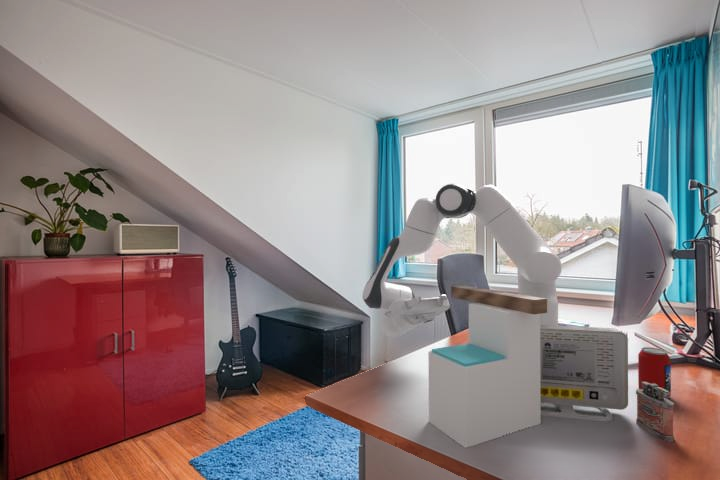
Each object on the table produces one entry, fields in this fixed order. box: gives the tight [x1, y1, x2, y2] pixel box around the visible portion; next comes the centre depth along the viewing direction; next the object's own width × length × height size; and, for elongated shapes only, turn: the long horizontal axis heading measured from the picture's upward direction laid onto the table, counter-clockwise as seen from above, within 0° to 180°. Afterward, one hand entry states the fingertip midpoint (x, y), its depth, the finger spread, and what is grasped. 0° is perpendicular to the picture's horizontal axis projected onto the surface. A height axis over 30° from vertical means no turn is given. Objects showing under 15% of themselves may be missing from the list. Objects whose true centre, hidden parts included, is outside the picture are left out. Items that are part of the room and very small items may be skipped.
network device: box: [540, 325, 629, 422], centre depth 90 cm, size 26×9×20 cm, turn 77°
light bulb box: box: [558, 318, 590, 327], centre depth 137 cm, size 11×7×11 cm, turn 40°
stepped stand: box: [428, 302, 542, 449], centre depth 84 cm, size 12×22×26 cm, turn 116°
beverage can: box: [637, 346, 672, 399], centre depth 98 cm, size 7×7×12 cm
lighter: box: [635, 382, 675, 442], centre depth 80 cm, size 8×3×10 cm, turn 5°
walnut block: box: [450, 284, 547, 314], centre depth 89 cm, size 26×4×3 cm, turn 26°
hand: (432, 297), depth 110 cm, fingers open, 8 cm apart
